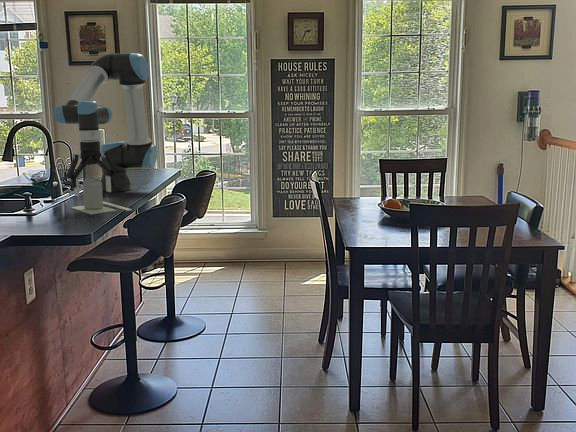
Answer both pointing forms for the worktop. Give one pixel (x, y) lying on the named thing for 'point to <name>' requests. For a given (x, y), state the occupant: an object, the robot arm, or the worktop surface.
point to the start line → (117, 206)
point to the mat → (102, 210)
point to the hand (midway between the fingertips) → (93, 193)
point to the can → (92, 194)
